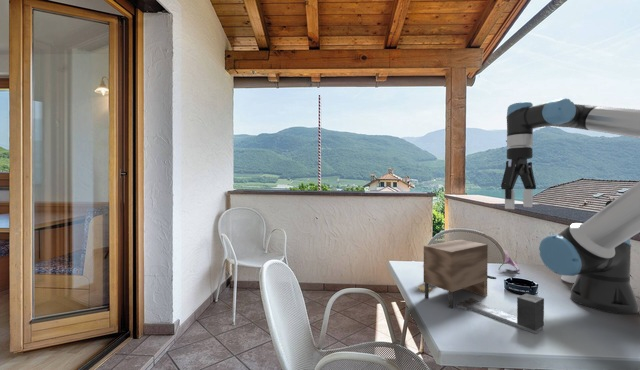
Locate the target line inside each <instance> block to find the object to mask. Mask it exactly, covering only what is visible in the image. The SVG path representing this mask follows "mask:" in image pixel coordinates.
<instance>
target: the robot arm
mask: <svg viewBox="0 0 640 370" xmlns="http://www.w3.org/2000/svg"><path fill="white" fill-rule="evenodd" d="M545 127H558V128H569V129H579V130H585V131H593V132H598V133H604V134H611V135H616V136H617V135H618V136H624V137H630V138H636V139H640V109H636V108H622V107H611V106H602V105H601V106H599V105H591V104H576V103H574V101H571V99H569V98H564V97H563V98H559V99H553V100H550V101H546V102H544V103H539V104H536V105H534V104H533V103H532V102H531V101H519V102H515V103H512V104H510V105H509V106H507V110H506V140H505V142H506V148H507V150H506V159H507V160H506V161H505V169H504V172H503V175H502V177H503V178H502V181H501V184H500V187H501V190H502V191H503V190H504V210H505V209H506V210H515V202H516V201H515V194H516V193H515V189H514V187H515V185H516V182H517V180H518V178H519V177H520V180H521V182H522V185H523V187H524V188H523V189H522V191H523V193H522V195H523V196H522V197H523V198H522V201H523V202H522V204H523V206H522V207H523V208H533V205H534V204H533V202H534V201H533V200H534V199H533V198H534V193H533V191H534V190H536V189H537V185H536V179H535V176H534V171H533V163H532V161H528V160H529V159H530V160H531V159H533V156H534V155H533V147H532V146H533V144H534V138H533V137H534V134H533V132H534V129H538V128H545ZM639 233H640V180H639V181H638V182H637V183H635V184H634V185H633V186H631V187H630V188H628V189H627V190H626V191H625V192H623V193H622V194H621V195H619V196H618V197H616V198H615V199H614V200H612V201H611V202H610V203H608V204H606V206H605V207H603V208H602V209H600V210H599V211H598V212H596V213H595V214H593V216H591V217H590V218H589V219H587V220H585V221H584V222H583V223H582V222H574V223H571V224H570V225H569V226H568V227H566V228H564V230H562V231H561V232H560V233H558V234H550V235H548V236H546V237H544V238H543V239H541V241H540V242H539V246H538V251H539V257H540V259H541V262H543V264H544V266H545V267H546V268H547V269H549V271H552V273H555V274H557V275H559V276H561V275H564V276H567V275H568V276H575V275H577V278H576V280H575V282H574V284H573V283H572V287H571V289H570V299H571V300H572V301H574V302H575V303H577V304H580V305H582V306H584V307H587V308H590V309H594V310H598V311H602V312H607V313H612V314H621V315H635V314H638V313H639V311H640V308H639V306H640V305H639V301H638V299H637V297H636V294H635V293H634V290H633V287H632V284H631V247H632V244H631V238H633V237H634V236H635V235H638V234H639Z"/></svg>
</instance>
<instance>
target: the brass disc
mask: <svg viewBox="0 0 640 370" xmlns="http://www.w3.org/2000/svg"><path fill="white" fill-rule="evenodd" d="M420 290H421V291H420ZM418 291H420V292H423V291H424V293H425V284H421V285H418ZM429 291H430V292H431V291H432V287H431V285H430V286H429Z"/></svg>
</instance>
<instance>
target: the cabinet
mask: <svg viewBox="0 0 640 370" xmlns="http://www.w3.org/2000/svg"><path fill="white" fill-rule="evenodd" d="M488 245H489V244H488V243H487V244H486V243H481V242H476V241H470V240H465V239H455V240H449V241H443V242H438V243H432V244H431V243H430V244H426V245H423V283H424V285H425V292H424V299H429V298H430V297H429V296H430V295H429V293H430V292H429V285H430V286H433V287H435V288H439V289H441V290H444V291H446V292H448V308H449V309H454V292H456V291H457V292H458V291H460V290H464V291H467V292H470V293H472V294H473V293H474V294H476V295H479V296H483V297H486V296H488V278H487V275H488V260H489V259H488V254H489V253H488V251H489V250H488V248H489V247H488Z"/></svg>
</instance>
